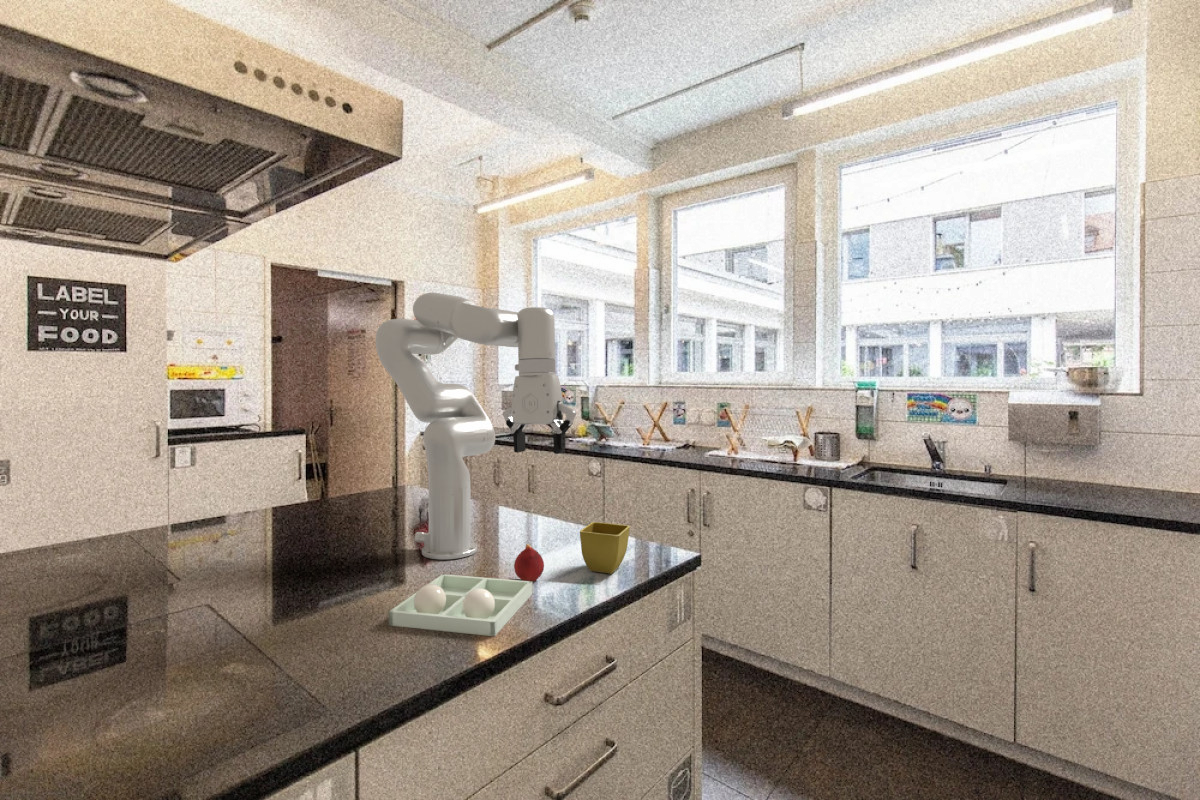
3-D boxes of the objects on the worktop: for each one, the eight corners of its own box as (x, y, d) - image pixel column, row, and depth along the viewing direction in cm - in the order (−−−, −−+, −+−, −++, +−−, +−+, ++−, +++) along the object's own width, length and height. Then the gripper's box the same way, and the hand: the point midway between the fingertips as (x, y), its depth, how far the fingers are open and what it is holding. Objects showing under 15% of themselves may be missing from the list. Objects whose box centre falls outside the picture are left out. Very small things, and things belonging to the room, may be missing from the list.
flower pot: (630, 565, 124) (630, 525, 124) (618, 578, 116) (618, 535, 116) (592, 561, 127) (592, 521, 127) (578, 573, 119) (578, 531, 119)
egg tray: (388, 631, 91) (388, 611, 91) (442, 590, 109) (442, 574, 109) (494, 642, 87) (494, 621, 87) (532, 598, 105) (532, 581, 105)
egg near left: (407, 620, 93) (407, 589, 93) (423, 608, 98) (423, 578, 98) (436, 623, 92) (436, 592, 92) (451, 611, 97) (451, 581, 97)
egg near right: (456, 625, 91) (456, 593, 91) (470, 613, 96) (470, 582, 96) (487, 628, 90) (487, 596, 90) (499, 615, 95) (499, 585, 95)
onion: (546, 579, 115) (546, 540, 115) (540, 590, 109) (540, 549, 109) (518, 578, 116) (518, 539, 116) (510, 589, 110) (511, 548, 110)
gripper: (491, 370, 117) (494, 453, 117) (563, 366, 109) (565, 455, 109) (513, 371, 123) (515, 449, 124) (583, 367, 115) (585, 451, 116)
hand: (539, 452), depth 116 cm, fingers open, 9 cm apart
